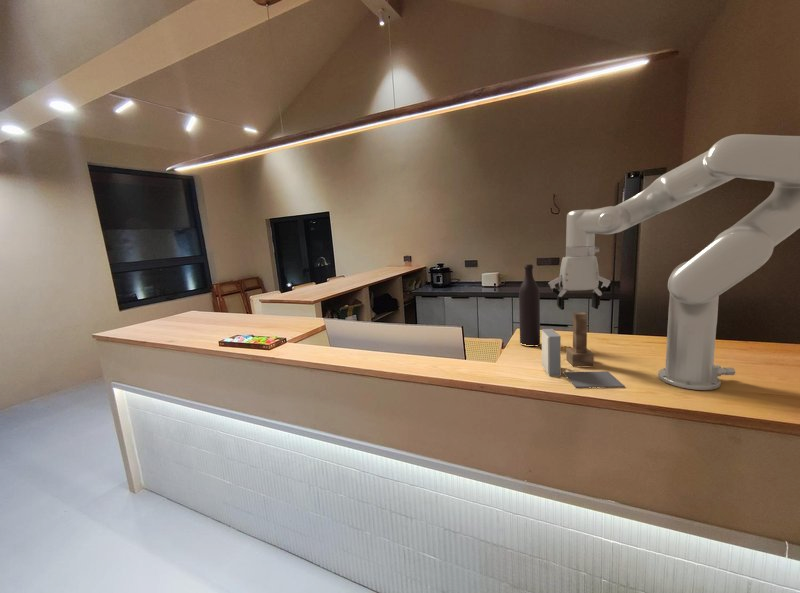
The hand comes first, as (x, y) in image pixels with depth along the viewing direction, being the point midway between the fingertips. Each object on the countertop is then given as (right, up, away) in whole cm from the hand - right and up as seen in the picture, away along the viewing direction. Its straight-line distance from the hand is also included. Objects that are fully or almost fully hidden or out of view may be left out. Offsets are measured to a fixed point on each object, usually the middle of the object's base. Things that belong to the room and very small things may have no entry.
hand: (577, 308), depth 105 cm
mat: (-1, -20, -10) cm, 22 cm away
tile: (-9, -19, -2) cm, 21 cm away
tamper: (+2, -17, +2) cm, 18 cm away
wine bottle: (-6, -15, +24) cm, 28 cm away
